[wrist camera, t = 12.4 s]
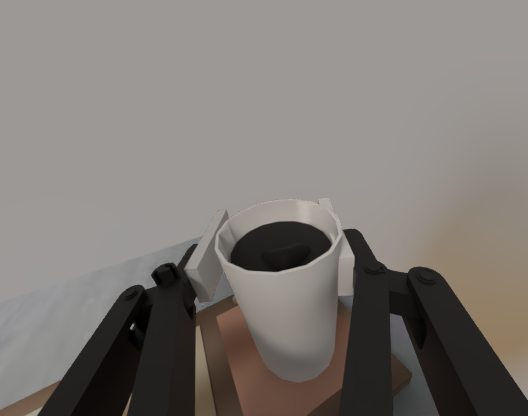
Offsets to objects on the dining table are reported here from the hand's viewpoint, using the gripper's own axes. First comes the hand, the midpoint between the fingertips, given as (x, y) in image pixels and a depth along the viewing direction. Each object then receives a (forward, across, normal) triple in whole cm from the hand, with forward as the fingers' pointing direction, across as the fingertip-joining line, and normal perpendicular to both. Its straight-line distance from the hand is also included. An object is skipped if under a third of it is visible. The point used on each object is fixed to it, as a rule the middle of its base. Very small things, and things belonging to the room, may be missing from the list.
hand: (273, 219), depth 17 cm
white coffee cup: (-5, +1, -8) cm, 9 cm away
